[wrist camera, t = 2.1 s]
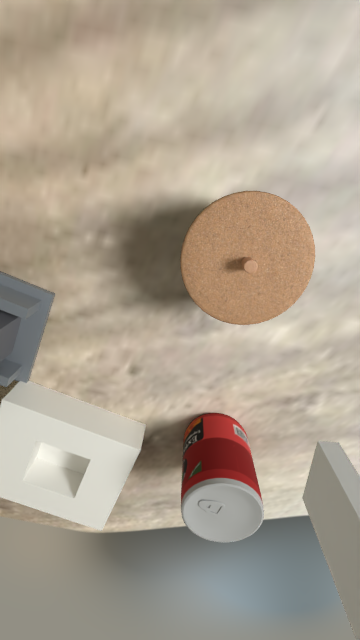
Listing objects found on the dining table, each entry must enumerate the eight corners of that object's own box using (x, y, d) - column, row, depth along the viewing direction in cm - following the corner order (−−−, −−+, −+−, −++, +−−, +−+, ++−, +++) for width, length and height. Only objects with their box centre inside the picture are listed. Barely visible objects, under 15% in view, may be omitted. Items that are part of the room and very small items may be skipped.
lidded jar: (196, 309, 36) (197, 345, 27) (171, 209, 32) (163, 211, 24) (295, 287, 35) (330, 316, 26) (280, 180, 31) (315, 171, 22)
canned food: (188, 406, 40) (187, 477, 30) (253, 416, 40) (274, 490, 30) (179, 455, 43) (175, 537, 32) (239, 464, 43) (254, 548, 32)
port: (-3, 461, 44) (-23, 489, 40) (22, 378, 40) (2, 399, 35) (110, 500, 46) (101, 531, 41) (146, 424, 41) (140, 450, 37)
